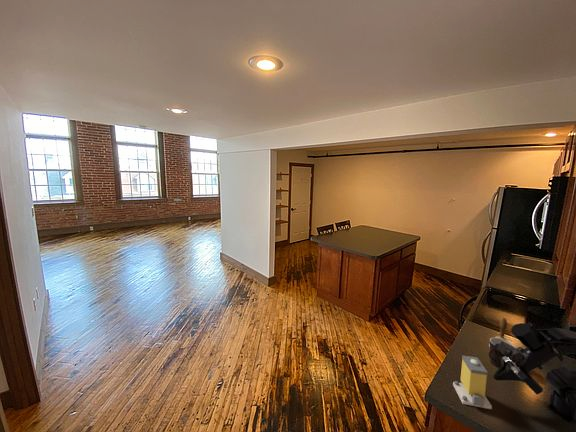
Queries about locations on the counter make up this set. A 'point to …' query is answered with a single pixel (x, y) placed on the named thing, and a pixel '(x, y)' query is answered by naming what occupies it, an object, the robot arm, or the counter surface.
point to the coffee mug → (494, 353)
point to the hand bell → (502, 329)
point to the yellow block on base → (473, 375)
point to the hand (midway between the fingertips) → (494, 378)
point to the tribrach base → (471, 397)
